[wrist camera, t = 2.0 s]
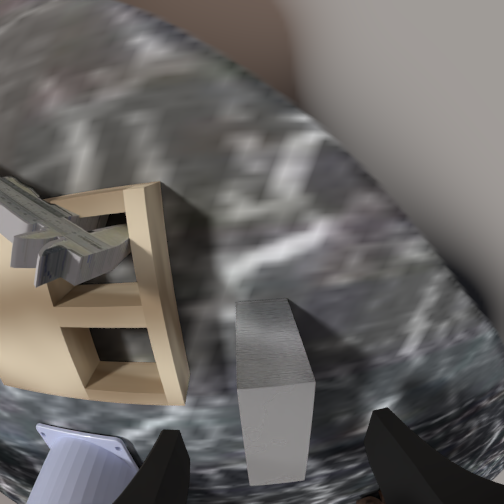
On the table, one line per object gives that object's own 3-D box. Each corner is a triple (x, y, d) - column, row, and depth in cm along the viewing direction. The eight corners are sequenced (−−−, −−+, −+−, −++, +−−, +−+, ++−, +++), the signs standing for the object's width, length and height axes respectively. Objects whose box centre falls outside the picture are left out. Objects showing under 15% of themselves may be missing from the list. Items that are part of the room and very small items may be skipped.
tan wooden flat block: (190, 373, 16) (184, 405, 13) (21, 363, 15) (4, 384, 13) (160, 181, 13) (143, 187, 10) (-24, 214, 12) (-52, 224, 10)
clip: (286, 395, 16) (304, 480, 11) (244, 399, 16) (250, 485, 11) (286, 298, 14) (315, 381, 9) (235, 301, 14) (237, 389, 9)
